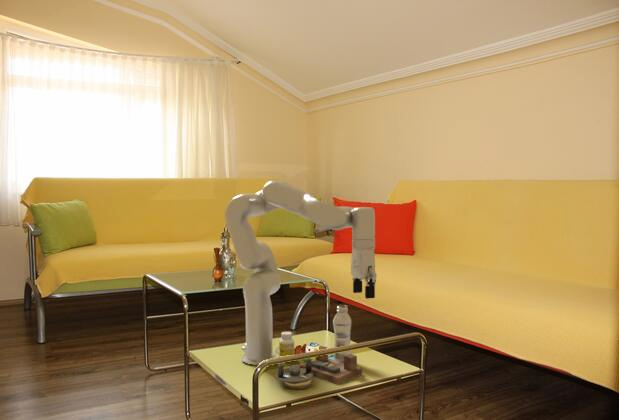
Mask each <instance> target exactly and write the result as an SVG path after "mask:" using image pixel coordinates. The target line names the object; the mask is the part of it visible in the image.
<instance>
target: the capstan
mask: <svg viewBox="0 0 619 420" xmlns="http://www.w3.org/2000/svg"><path fill="white" fill-rule="evenodd" d="M311 360H312V359H310V358H308V359H307V358H306V359H305V362H306V369H304V368H300V366H299V364H291V365H290V366H289V367H288V368H285V367H284V366H285V365H284V364H282V363H281V364H277V372H276V379H277V380H278V381H279V382H282V383H283V385H284V387H286V388H287V389H291V390H305V389H308V388H310V387H312V386H313V383H314V379H313V378H314V376H313V372H312V364H311Z"/></svg>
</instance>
